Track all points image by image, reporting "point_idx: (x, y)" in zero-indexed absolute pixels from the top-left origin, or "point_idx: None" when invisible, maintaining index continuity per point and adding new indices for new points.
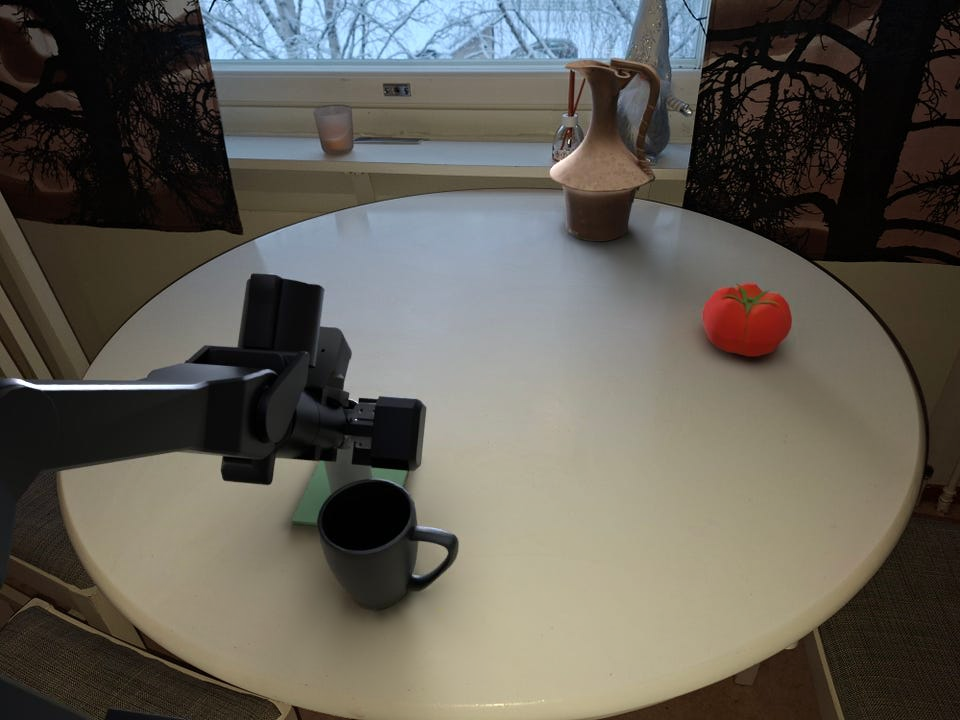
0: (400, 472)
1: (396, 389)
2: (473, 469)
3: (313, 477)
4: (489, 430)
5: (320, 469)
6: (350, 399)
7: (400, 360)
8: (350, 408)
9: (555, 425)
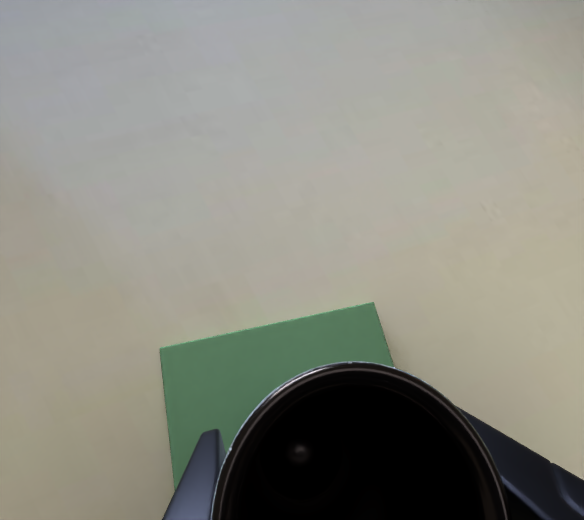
0: (374, 351)
1: (231, 121)
2: (499, 284)
3: (173, 446)
4: (467, 178)
5: (179, 412)
6: (363, 366)
7: (199, 48)
8: (357, 391)
9: (564, 137)
